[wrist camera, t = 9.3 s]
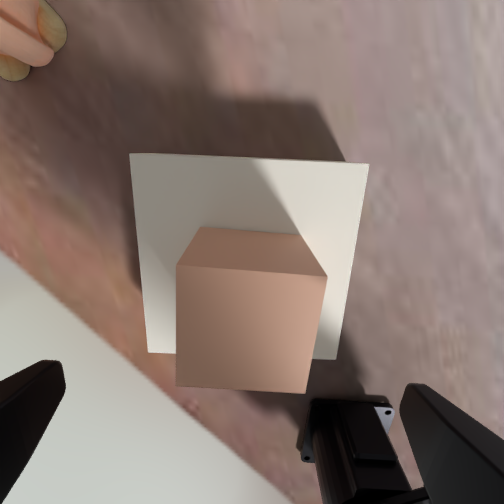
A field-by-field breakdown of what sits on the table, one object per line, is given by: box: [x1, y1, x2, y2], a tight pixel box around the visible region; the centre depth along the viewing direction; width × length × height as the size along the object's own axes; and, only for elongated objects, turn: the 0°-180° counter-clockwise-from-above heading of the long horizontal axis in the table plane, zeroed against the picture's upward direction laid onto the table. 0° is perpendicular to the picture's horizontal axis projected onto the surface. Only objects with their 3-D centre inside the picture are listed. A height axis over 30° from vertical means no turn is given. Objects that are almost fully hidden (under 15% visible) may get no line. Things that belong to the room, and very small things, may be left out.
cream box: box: [129, 153, 369, 360], centre depth 17 cm, size 11×11×4 cm
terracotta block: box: [176, 227, 328, 394], centre depth 12 cm, size 5×5×5 cm
